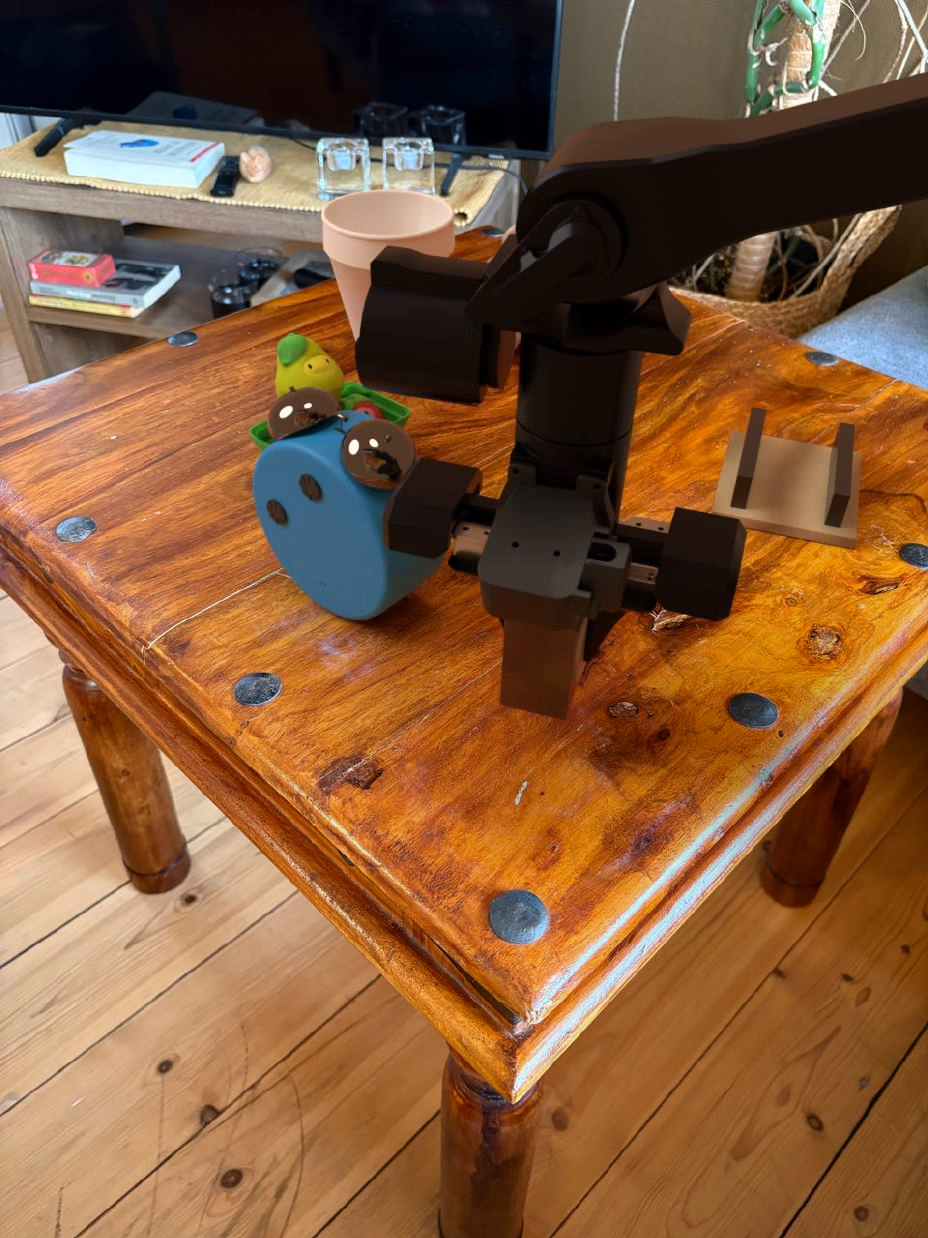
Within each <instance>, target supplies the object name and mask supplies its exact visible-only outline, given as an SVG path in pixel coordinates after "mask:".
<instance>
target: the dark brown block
mask: <svg viewBox="0 0 928 1238" xmlns="http://www.w3.org/2000/svg"><path fill="white" fill-rule="evenodd" d="M592 621H593V619H589V618H584V617H580V616H579V617H578V620H577V622H576V623H575V624H574V625H573V626H572V627H571V628H569V629H567V630H564V631H552V630H547V629H545V628H543V627H541V626H539V625H534V624H530V623H526V622H521V621H517V620H513V619H505V620H504V630H503V638H502V652H501V653H502V655H501V656H502V657H501V668H500V669H501V673H500V686H499V705H500V706H504V707H509V708H513V709H516V710H520V711H523V712H528V713H532V714H536V715H541V716H544V717H547V718H548V717H549V718H552V719H556V720H560V721H566V720H567V717H568V715H569V711H570V709H571V705H572V703H573V700H574V697H575V694H576V691H577V688H578V685H579V683H580V679H581V677H582V674H583V673H584V672H583V671H584V668H585V666H586V663H587V662H584V661H583V659H584V649H585V642H586V639H587V636H588V633H589V630H590V627H591V624H592Z"/></svg>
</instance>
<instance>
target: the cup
mask: <svg viewBox="0 0 928 1238" xmlns="http://www.w3.org/2000/svg"><path fill="white" fill-rule="evenodd" d="M320 216H321V217H320V218H321V221H322V247H323V252H324V253H325V254H326V255H327V256H328V258H329V260H330V263H331V267H332V270H333V273H334V276H335V279H336V283H337V287H338V289H339V293H340V296H341V299H342V302H343V306H344V309H345V312H346V315H347V319H348V322H349V326H350V328H351V331H352V335H353V339H354V341H355V342H356V340H357V338H358V337H359V333H360V324H361V317H362V312H363V308H364V303H365V299H366V296H367V294H368V291H369V288H370V285H371V273H370V263H371V262H372V261H373V260H374V259H375V257H376V256H377V255H378V254H379V253H380V252H381V251H382V250H383V249H384V248H385V247H386V246H387V245H390V246H397V247H405V248H410V249H413V250H416V251H418V252H421V253H423V254H427V255H433V256H441V257H448V258H450V255H451V254H453V252H454V251H455V248H456V233H455V232H456V230H455V217H456V213H455V210H454V207H453V206H452V205H451V204H450V203H448V202H447V201H446V200H445V199H442V198H440V197H438V196H436V195H433V194H430V193H426V192H421V191H415V190H408V189H392V188H391V189H390V188H389V189H387V188H385V189H370V190H362V191H357V192H356V191H355V192H352V193H348V194H345V195H342V196H339V197H337V198H334V199H332V200H331V201H330V202H327V203H326V204H325V205H324V207H323V208H322V210H321V212H320ZM355 342H354V343H355Z"/></svg>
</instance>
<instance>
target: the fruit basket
mask: <svg viewBox="0 0 928 1238" xmlns="http://www.w3.org/2000/svg"><path fill="white" fill-rule="evenodd" d="M276 366H277V367H276V374H275V378H274V379H275V381H274V385H275V387H274V388H275V393H276V396H277V400H278V399H279V398H280V397H281V396H283V395H285V394H287V393H289V392H290V390H289V387H291V386H294V389H295V390H296V389H299V388H302V387H318V388H322V389H324V390H327V391H328V392H330V393H331V394H333V395H334V396H335V397H336V399H337V400H338V402H339V404H340V407H341V410H340V411H342V410H352V411H358V412H361V413H365V414H368V415H370V416H373V417H375V418H377V419H385V420H388V421H391V422H393V423H395V424H397V425H399V426H400V427H402V428H403V429H404V430H405V426H406V425H407V423H408V420H409V419H410V415H411V409H409V407H407V406H406V405H404V404H402V403H400V402H397V401H396V400H393V399H391V398H389V397H388V396H386V395H384V394H381V393H380V392H378V391H374V390H368V389H366V388H365V387H363V385H362V384H361V382H357V381H345V379H346V378H345V375H344V373H343V370H342V369H341V367H340V366H339V364H338V363H337V362H336V360H334V359H333V357H331V356H330V355H329V354H327V352H325V351H324V350H323V349H322V347H321V346H320V345H319V344H318V342H316V341H315V340H314V339H312V338H310V337H307V336H305V335H302V334H296V332H294V331H293V332H290V333H287V334H286V336H284V337H282V338H281V339H280V340H279V342H278V343H277V345H276ZM248 432H249V435H250V437H251V439H252V441H253V443H254V444H255V446H257V448H258V449H259V451H260V454H261V453H262V452H263V451H264V449H265V448H267V447H268V446H269V445H271V444H272V443H274V442H276V441H278V440H280V439H282V438H284V437H286V436H288V435H290V434H291V433H290V434H287V435H283V436H279V437H271V436H270V433H269V431H268V427H267V418H266V419H265V420H263V421H260V422H259V423H257V424H255V425H253V426H252V427H250V428H249V430H248Z"/></svg>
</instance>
